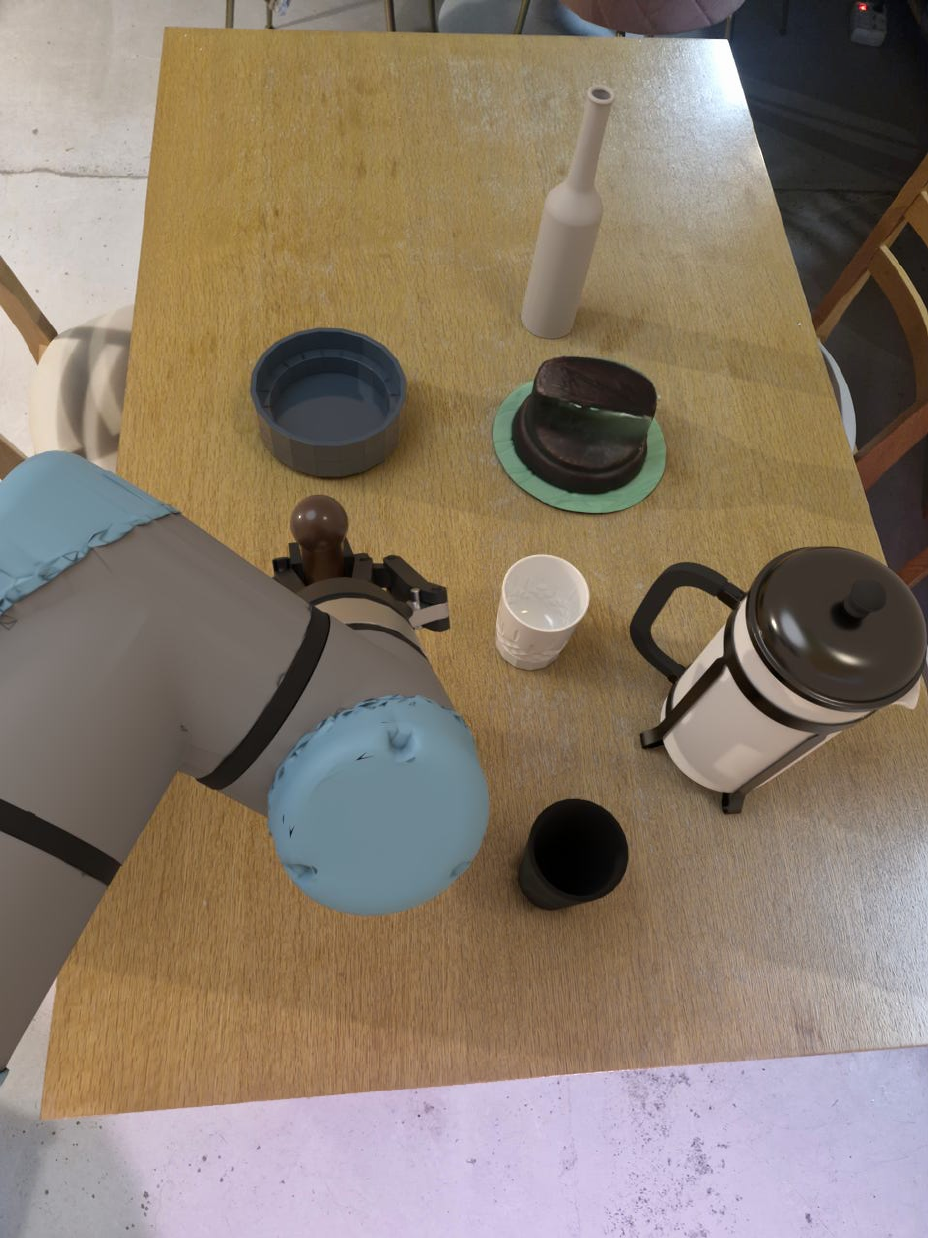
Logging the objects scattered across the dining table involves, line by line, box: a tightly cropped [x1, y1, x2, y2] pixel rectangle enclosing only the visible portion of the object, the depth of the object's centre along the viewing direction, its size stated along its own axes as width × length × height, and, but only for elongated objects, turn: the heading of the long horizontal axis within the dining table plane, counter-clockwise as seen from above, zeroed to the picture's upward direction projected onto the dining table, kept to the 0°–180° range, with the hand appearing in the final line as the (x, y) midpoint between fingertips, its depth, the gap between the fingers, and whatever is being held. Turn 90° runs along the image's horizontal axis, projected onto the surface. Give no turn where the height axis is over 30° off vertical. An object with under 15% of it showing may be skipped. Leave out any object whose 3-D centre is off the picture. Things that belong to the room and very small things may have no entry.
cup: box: [517, 797, 630, 912], centre depth 69 cm, size 8×8×12 cm
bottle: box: [520, 84, 617, 340], centre depth 93 cm, size 7×7×28 cm
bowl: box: [249, 326, 407, 478], centre depth 92 cm, size 16×16×6 cm
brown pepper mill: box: [289, 494, 350, 587], centre depth 59 cm, size 6×6×18 cm
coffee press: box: [629, 545, 928, 816], centre depth 69 cm, size 17×16×30 cm
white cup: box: [494, 553, 590, 672], centre depth 80 cm, size 8×8×10 cm
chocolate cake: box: [492, 354, 667, 514], centre depth 94 cm, size 15×19×20 cm
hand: (319, 557), depth 64 cm, fingers closed on brown pepper mill, 3 cm apart
